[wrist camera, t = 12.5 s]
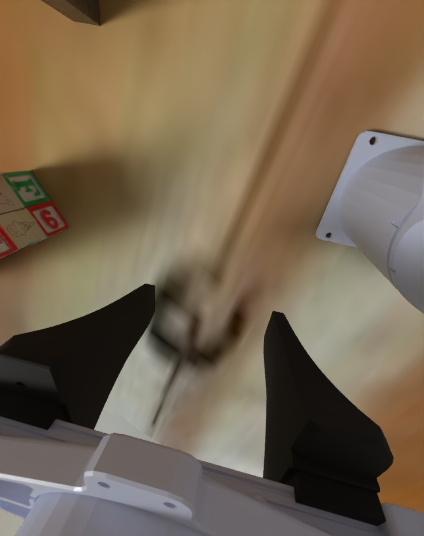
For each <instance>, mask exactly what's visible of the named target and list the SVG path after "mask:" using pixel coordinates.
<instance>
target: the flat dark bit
mask: <svg viewBox="0 0 424 536" xmlns="http://www.w3.org/2000/svg"><path fill="white" fill-rule="evenodd" d="M42 1H43V2H45V3H46V4H48V5H49V6H51V7H52V8H54V9H55V10H57V11H58V12H60V13H62V14H63V15H65V16H66V17H68V18H69V19H71V20H72V21H75V22H81V23H87V24H92V25H98V26H100V12H99V0H42Z"/></svg>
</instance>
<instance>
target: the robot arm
mask: <svg viewBox="0 0 424 536" xmlns="http://www.w3.org/2000/svg"><path fill="white" fill-rule="evenodd" d="M373 136H374V137H375V139H376V140H375V143H374V144H372V145H370V143H369V141H370V139H371V138H372V137H373ZM327 233H331V235H330V236H329V237H326V234H327ZM316 236H317V238H318V239H321V240H325V241H330V242H334V243H338V244H343V245H347V246H352V247H356V248H359V249H360V250H361V251H362V252H363V254H364V255H365V256H366V257H367V258H368V259H369V260H370V261H371V262H372V263H373V264H374V265H375V266H376V267H377V269H378V270H379V271H380V272H381V273H382V274H383V275H384V276H385V277H386V278H387V279H388V280H389V281H390V282H391V284H392V285H393V286H394V287H395V288H396V289H397V290H398V291H399V292H400V293H401V294H402V296H403V297H404V298H405V299H406V300H407V301H408V302H410V303H411V304H412V305H413V306H414V307H416V308H417V309H418V310H420V311H421V312H422V313H424V141H420V140H415V139H410V138H405V137H399V136H394V135H389V134H384V133H379V132H373V131H364V132H362V133H360V134H359V135H358V137H357V139H356V141H355V143H354V146H353V148H352V150H351V153H350V155H349V157H348V159H347V162H346V164H345V166H344V169H343V171H342V173H341V176H340V178H339V180H338V182H337V185H336V187H335V189H334V192H333V194H332V196H331V198H330V201H329V203H328V205H327V208H326V210H325V212H324V214H323V217H322V219H321V221H320V224H319V226H318V228H317V231H316ZM154 312H155V285H150V284H144V285H142V286H140V287H139V288H137V289H136V290H134V291H132V292H131V293H129V294H127V295H125V296H124V297H122V298H120V299H119V300H117V301H115V302H113V303H111V304H109V305H107V306H105V307H103V308H101V309H99V310H97V311H95V312H92V313H90V314H88V315H85V316H83V317H80V318H77V319H74V320H72V321H69V322H66V323H63V324H59V325H56V326H53V327H49V328H45V329H41V330H37V331H33V332H28V333H23V334H19V335H14V336H13V337H12V338H10V339H9V340H8V341H6V342H5V343H4V344H3V345H1V346H0V509H1V510H3V511H6V512H8V513H10V514H13V515H15V516H18V517H20V518H23V519H25V520H24V521H23V523H22V525H21V526H20V528H19V529H18V531H17V533H16V534H15V536H424V514H423V513H421V512H419V511H416V510H412V509H408V508H405V507H401V506H398V505H394V504H389V503H382V504H380V501H379V498H378V495H377V493H379V492H380V487H379V484H378V481H377V477H378V476H380V475H381V474H382V473H383V472H385V471H386V470H387V469H388V468H389V467H390V466H391V465H392V463H393V459H394V458H393V455H392V453H391V450H390V448H389V445H388V443H387V440H386V438H385V436H384V434H383V432H382V430H381V428H380V427H379V426H378V425H377V424H376V423H374V422H373V421H372V420H371V419H370V418H368V417H367V416H366V415H365V414H364V413H363V412H361V411H360V410H359V409H358V408H357V407H356V406H355V405H354V404H353V403H351V402H350V401H349V400H348V399H347V398H346V397H345V396H344V395H343V394H342V393H341V392H340V391H339V390H338V389H337V388H336V387H335V386H334V385H333V384H332V383H331V382H330V380H329V379H328V378H327V377H326V376H325V375H324V374H323V373H322V371H321V370H320V369H319V368H318V366H317V365H316V364H315V363H314V361H313V360H312V359H311V358H310V356H309V355H308V353H307V352H306V350H305V349H304V347H303V346H302V344H301V343H300V341H299V339H298V338H297V336H296V335H295V333H294V331H293V329H292V328H291V326H290V324H289V322H288V320H287V319H286V317H285V315H284V313H280V312H276V311H273V312H272V315H271V318H270V321H269V324H268V327H267V329H266V332H265V335H264V366H265V379H266V394H267V403H266V436H265V456H264V471H263V478H261V477H257V476H254V475H250V474H247V473H243V472H240V471H236V470H233V469H229V468H226V467H222V466H219V465H215V464H212V463H208V462H205V461H201V460H198V459H196V458H195V457H193V456H192V455H190V454H188V453H185V452H183V451H181V450H177V449H174V448H170V447H167V446H163V445H160V444H156V443H153V442H149V441H145V440H142V439H139V438H135V437H132V436H128V435H124V434H118V433H113V434H106V433H103V432H99V431H96V430H94V428H95V426H96V423H97V421H98V419H99V416H100V414H101V412H102V410H103V407H104V405H105V403H106V401H107V399H108V396H109V394H110V392H111V390H112V388H113V386H114V384H115V382H116V380H117V377H118V375H119V374H120V372H121V370H122V368H123V366H124V364H125V362H126V360H127V358H128V357H129V355H130V353H131V352H132V350H133V349H134V347H135V346H136V344H137V342H138V341H139V339H140V338H141V336H142V335H143V333H144V332H145V330H146V328H147V327H148V325H149V323H150V321H151V319H152V317H153V315H154Z"/></svg>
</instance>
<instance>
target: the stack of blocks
mask: <svg viewBox="0 0 424 536" xmlns="http://www.w3.org/2000/svg"><path fill="white" fill-rule="evenodd" d="M67 229H69V226H68V225H67V223H66V222H65V220H64V219H63V217H62V216H61V214H60V213H59V211H58V210H57V209H56V207H55V206H54V204H53V203H52V201H51V200H50V199H49V197H48V196H47V194H46V193H45V192H44V190H43V189H42V187H41V186H40V184H39V183H38V181H37V180H36V178H35V177H34V175H33V174H32V172H31V171H19V172H8V173H0V259H1V258H3V257H5V256H7V255H10V254H12V253H14V252H16V251H18V250H19V249H22V248H24V247H27V246H30V245H33V244H35V243H37V242H40V241H42V240H44V239H47V238H49V237H51V236H53V235H55V234H58V233H60V232H62V231H64V230H67Z"/></svg>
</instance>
